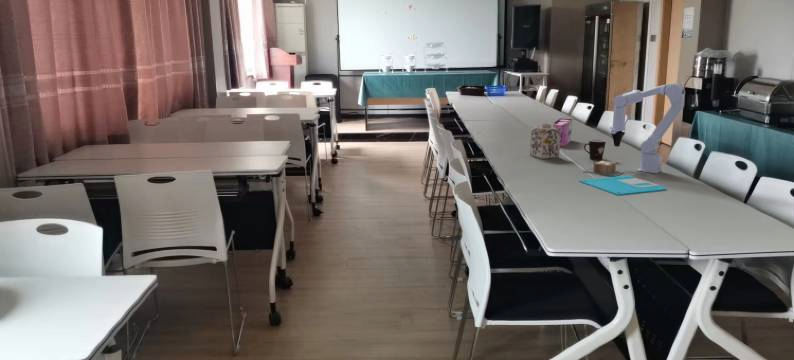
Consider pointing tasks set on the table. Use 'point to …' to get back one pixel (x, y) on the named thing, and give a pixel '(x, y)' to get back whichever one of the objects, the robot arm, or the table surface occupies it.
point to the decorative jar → (545, 142)
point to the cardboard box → (604, 167)
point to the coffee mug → (596, 148)
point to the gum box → (564, 130)
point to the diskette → (623, 185)
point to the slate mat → (614, 173)
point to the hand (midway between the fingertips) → (616, 146)
